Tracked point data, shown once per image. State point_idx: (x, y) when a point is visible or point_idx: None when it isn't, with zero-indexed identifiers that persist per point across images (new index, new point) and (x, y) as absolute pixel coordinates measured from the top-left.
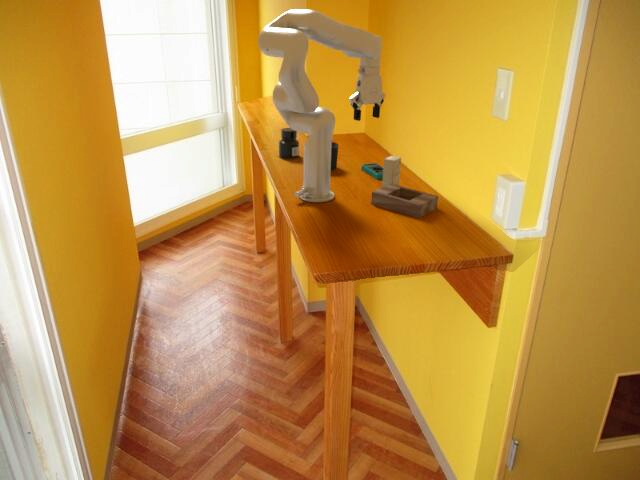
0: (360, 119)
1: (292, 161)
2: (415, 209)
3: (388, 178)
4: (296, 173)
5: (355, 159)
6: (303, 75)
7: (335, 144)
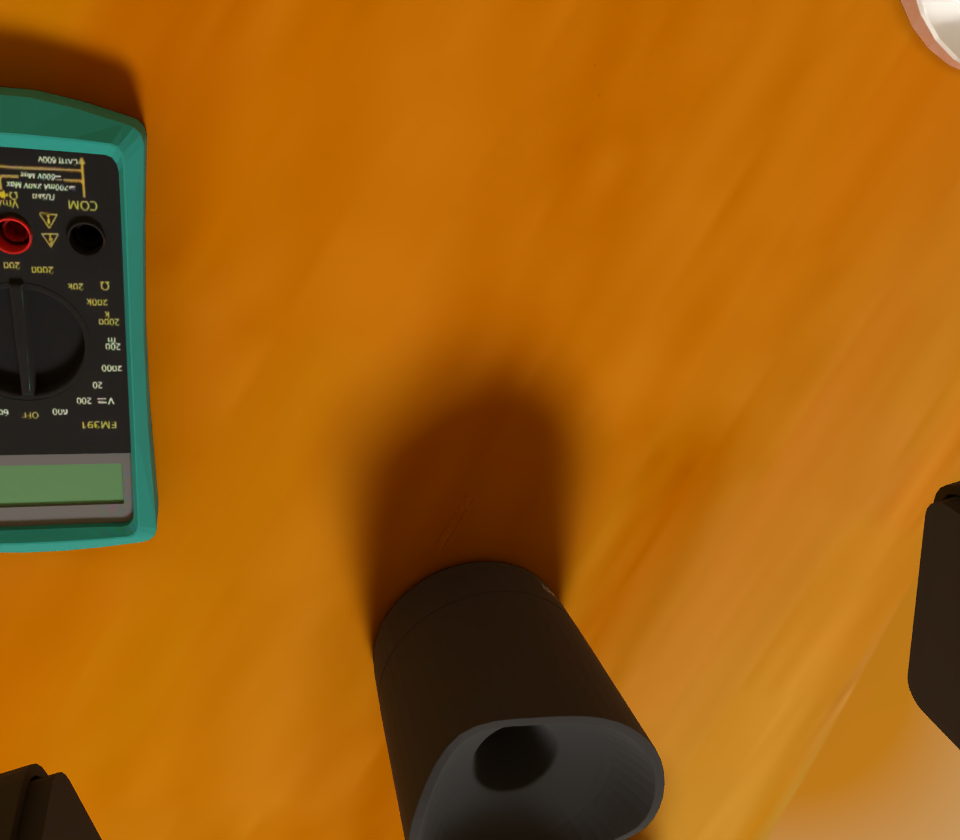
0: (956, 507)
1: None
2: None
3: None
4: (768, 556)
5: None
6: None
7: (421, 834)
